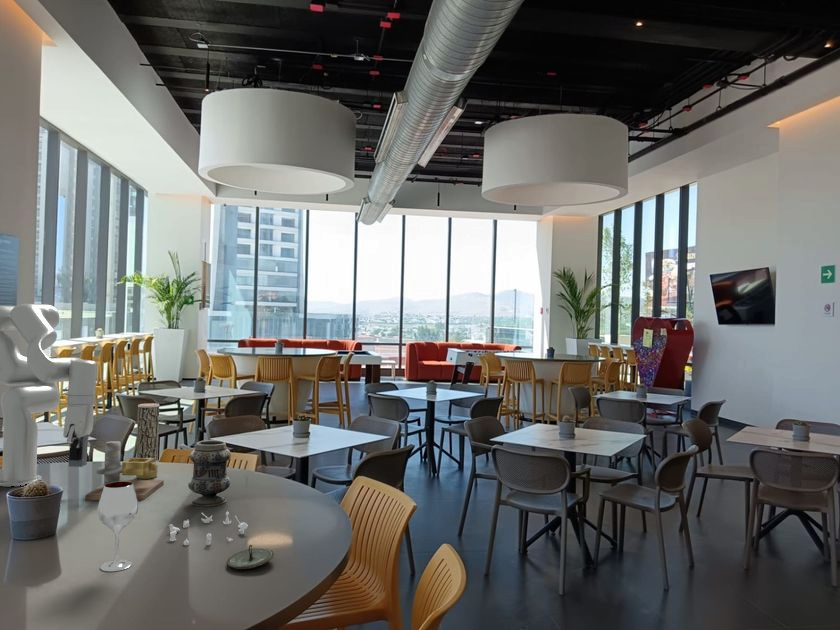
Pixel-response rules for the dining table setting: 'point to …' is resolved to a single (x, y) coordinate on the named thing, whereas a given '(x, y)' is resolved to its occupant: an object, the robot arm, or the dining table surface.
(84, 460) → the grey rectangular bar
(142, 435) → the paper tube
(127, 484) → the wineglass
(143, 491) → the board
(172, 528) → the game piece set
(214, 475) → the apothecary jar
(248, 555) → the lid
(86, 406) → the robot arm
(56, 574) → the dining table surface
